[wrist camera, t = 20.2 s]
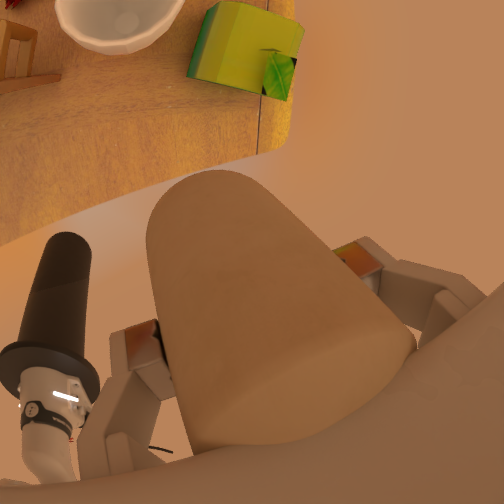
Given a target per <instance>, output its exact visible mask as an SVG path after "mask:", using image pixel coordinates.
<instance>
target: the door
mask: <svg viewBox="0 0 504 504" xmlns="http://www.w3.org/2000/svg"><path fill="white" fill-rule="evenodd" d="M37 36H38V32H37V30H35V29H32V28H29V27H26V26H23V25H20V24H17V23H13V22H10V21H7V20H4V19H1V20H0V95H1V94H5V93H9V92H12V91H16V90H20V89H25V88H29V87H33V86H38V85H43V84H48V83H53V82H58V81H60V77H61V74H52V75H33V76H31V70H32V63H33V57H34V51H35V46H36V41H37ZM10 39H15V40H20V46H19V52H18V58H17V64H16V72H15V77H9V78H4V73H5V66H6V59H7V53H8V47H9V42H10Z"/></svg>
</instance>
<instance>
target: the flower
mask: <svg viewBox="0 0 504 504" xmlns="http://www.w3.org/2000/svg"><path fill="white" fill-rule="evenodd" d="M20 1H21V0H6V4H7V5H6V7H5V9H6V8H8V7H9V6H10V5H11V4H12V3H13V2H14V3H13V5H12V7H13V6H14V7H15V6H16V5H17V4H18V3H19V2H20ZM14 7H13V8H14ZM6 10H7V9H6Z"/></svg>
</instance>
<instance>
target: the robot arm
mask: <svg viewBox="0 0 504 504" xmlns="http://www.w3.org/2000/svg"><path fill="white" fill-rule="evenodd" d="M332 251H333V252H334V253H335V254H336V255H337V256H338V257H339V258H340V259H341V260H342V261H343V262H344V263H345V264H346V265H347V266H348V267H349V268H350V269H351V270H352V271H353V272H354V273H355V274H356V275H357V276H358V277H359V278H360V279H361V280H362V281H363V282H364V283H365V284H366V285H367V286H368V287H369V288H370V289H371V290H372V291H373V292H374V293H375V294H376V295H377V296H378V297H379V298H380V299H381V301H382V302H383V303H384V304H385V305H386V306H387V307H388V308H389V309H390V310H391V311H392V312H393V313H394V314H395V315H396V316H397V317H398V318H399V319H400V321H401V322H402V323H403V324H405V325H408V326H410V327H412V328H415V329H417V330H419V331H421V332H422V334H421V337H420V340H419V343H418V348H419V349H417V350H416V351H414V352H413V353H411V354H410V355H409V356H408V357H407V358H406V360H405V361H404V363H403V365H402V367H401V368H400V369H399V371H398V372H397V373H396V375H395V376H394V378H393V379H392V380H391V381H390V382H389V383H388V384H387V385H386V386H385V387H384V389H383V390H382V391H380V392H379V393H378V394H377V395H376V396H374V397H373V398H372V399H371V400H370V401H368V402H367V403H366V404H364V405H363V406H362V407H360V408H359V409H357V410H356V411H354V412H353V413H351V414H350V415H348V416H347V417H345V418H343V419H342V420H340V421H338V422H337V423H335V424H333V425H332V426H330V427H328V428H326V429H325V430H323V431H321V432H319V433H317V434H314V435H312V436H309V437H307V438H304V439H300V440H297V441H293V442H288V443H282V444H271V445H228V446H223V447H219V448H216V449H213V450H210V451H207V452H204V453H201V454H198V455H194V456H191V457H188V458H184V459H181V460H177V461H173V462H170V463H165V461H163V460H161V459H160V458H159V457H157V456H156V455H154V454H153V453H152V452H150V451H148V448H151V449H157V450H162V451H165V452H168V453H173V451H169V450H166V449H163V448H159V447H154V446H149V444H150V440H151V436H152V433H153V429H154V426H155V422H156V419H157V416H158V412H159V409H160V405H161V402H160V401H163V400H166V399H169V398H172V397H175V396H176V394H175V390H174V386H173V382H172V378H171V374H170V370H169V366H168V362H167V358H166V353H165V349H164V344H163V340H162V335H161V331H160V326H159V322H158V320H157V319H152V320H150V321H146V322H143V323H140V324H137V325H134V326H131V327H128V328H126V329H123V330H120V331H117V332H114V333H111V335H110V338H109V340H110V358H111V372H112V377H110V378H108V379H107V380H106V382H105V384H104V386H103V388H102V390H101V392H100V394H99V396H98V398H97V400H96V402H95V404H94V406H92V404H91V402H90V400H89V398H88V396H87V394H86V392H85V390H84V388H83V386H82V383H81V381H80V379H79V378H78V377H75V376H70V375H66V374H63V373H61V372H59V371H57V370H54V369H51V368H46V367H31V368H28V369H26V370H24V371H23V372H22V373H21V376H20V380H21V382H20V383H19V385H18V391H19V392H20V404H19V407H20V413H21V422H20V424H21V430H22V458H23V461H24V463H25V465H26V466H27V468H28V469H29V470H30V471H31V472H32V473H33V474H34V475H35V476H36V477H37V478H38V480H39V481H40V483H41V484H39V485H31V484H28V483H26V482H21V481H15V480H10V479H1V480H0V504H504V282H503V283H502V284H501V285H500V286H499V287H498V288H497V289H496V290H494V291H493V292H492V293H491V294H490V295H489V296H486V295H485V294H483V293H482V292H481V291H480V290H479V289H478V288H477V287H475V286H474V285H473V284H472V283H471V282H470V281H468V280H467V279H466V278H465V277H464V276H462V275H459V274H456V273H451V272H448V271H444V270H440V269H436V268H432V267H429V266H425V265H421V264H417V263H413V262H409V261H405V260H399V261H397V260H396V259H395V258H393V257H392V256H391V255H390V254H389V253H387V252H386V251H385V250H384V249H383V248H381V247H380V246H379V245H378V244H376V243H375V242H374V241H373V240H372V239H370V238H369V237H366V236H364V237H362V238H360V239H357V240H355V241H353V242H351V243H348V244H346V245H344V246H341V247H339V248H337V249H334V250H332ZM78 427H79V428H82V430H81V432H80V434H79V436H78V439H77V451H78V460H79V461H78V462H79V471H80V478H81V480H80V481H77V479H76V477H75V475H74V472H73V469H72V465H71V458H70V449H69V442H73V441H69V440H72V439H73V438H70V437H71V434H72V430H73V429H75V428H78Z"/></svg>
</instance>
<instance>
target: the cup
mask: <svg viewBox="0 0 504 504" xmlns="http://www.w3.org/2000/svg"><path fill="white" fill-rule="evenodd" d="M184 2H185V0H55V5H54V9H55V12H56V15H57V18H58V21H59V24H60V27H61V29H62V30H64V31H65V32H66V33H67V34H68V35H69V36H70V37H71V38H72V39H74V40H75V41H76V42H77V43H78V44H80V45H81V46H82V47H84V48H85V49H88V50H91V51H94V52H98V53H101V54H104V55H124V54H131V53H134V52H136V51H138V50H141V49H143V48H146V47H148V46H149V45H151V44H152V43H153V42H154V41H155V40H157V39H158V38H159V37H160V36H161V35H163V34H164V33H165V32H166V31H167V30H169V28H170V26H171V24H172V23H173V21H174V19H175V18H176V16H177V14H178V13H179V11H180V9H181V7H182V6H183V4H184Z"/></svg>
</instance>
